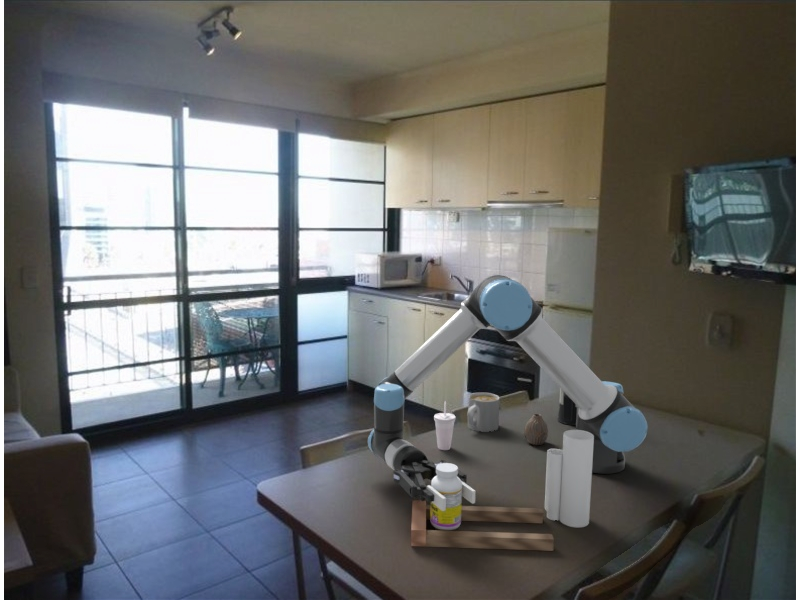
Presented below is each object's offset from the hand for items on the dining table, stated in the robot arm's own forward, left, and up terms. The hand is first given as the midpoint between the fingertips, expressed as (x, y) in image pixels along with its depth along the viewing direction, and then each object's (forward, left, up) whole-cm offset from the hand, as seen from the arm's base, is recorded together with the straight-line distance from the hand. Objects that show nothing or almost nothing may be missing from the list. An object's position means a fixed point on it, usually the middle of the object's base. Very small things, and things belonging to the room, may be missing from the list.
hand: (459, 500), depth 122 cm
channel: (-6, -4, -9) cm, 12 cm away
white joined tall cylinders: (-25, -12, -9) cm, 29 cm away
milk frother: (-45, -75, -9) cm, 88 cm away
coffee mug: (-11, -69, -9) cm, 71 cm away
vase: (-27, -57, -9) cm, 64 cm away
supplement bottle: (+3, -4, -8) cm, 9 cm away
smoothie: (+1, -51, -9) cm, 52 cm away
